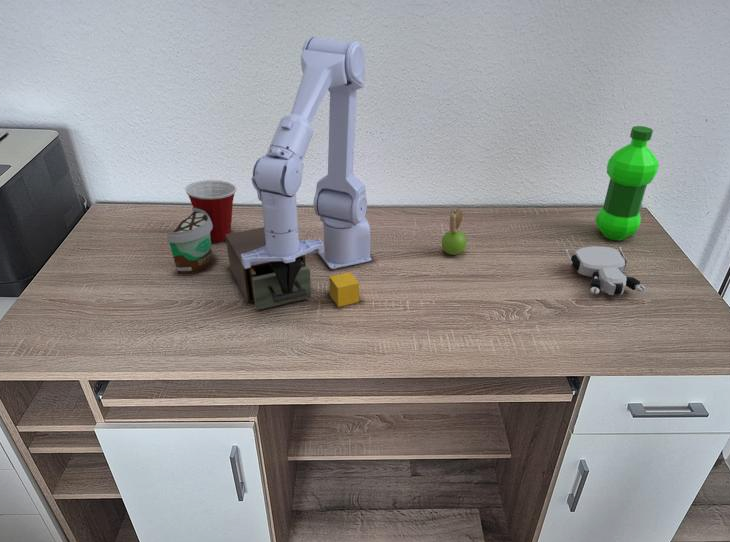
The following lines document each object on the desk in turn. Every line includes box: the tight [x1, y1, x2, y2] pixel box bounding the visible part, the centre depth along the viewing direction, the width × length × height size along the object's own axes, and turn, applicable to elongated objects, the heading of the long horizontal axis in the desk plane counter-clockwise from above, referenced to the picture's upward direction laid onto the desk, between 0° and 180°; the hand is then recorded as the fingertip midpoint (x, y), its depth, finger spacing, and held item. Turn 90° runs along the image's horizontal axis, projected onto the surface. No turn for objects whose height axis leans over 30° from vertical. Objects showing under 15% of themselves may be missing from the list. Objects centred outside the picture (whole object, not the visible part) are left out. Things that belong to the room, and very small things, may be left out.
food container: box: [166, 207, 213, 275], centre depth 127 cm, size 12×6×10 cm, turn 168°
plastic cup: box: [184, 179, 238, 244], centre depth 137 cm, size 11×11×12 cm
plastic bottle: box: [595, 125, 660, 241], centre depth 138 cm, size 10×10×25 cm
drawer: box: [247, 259, 312, 311], centre depth 119 cm, size 18×11×6 cm, turn 25°
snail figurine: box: [440, 208, 468, 256], centre depth 133 cm, size 5×6×12 cm
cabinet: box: [225, 226, 307, 304], centre depth 124 cm, size 14×12×8 cm
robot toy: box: [565, 245, 646, 296], centre depth 127 cm, size 12×4×15 cm
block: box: [328, 271, 360, 308], centre depth 119 cm, size 4×4×4 cm
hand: (286, 292), depth 114 cm, fingers closed
